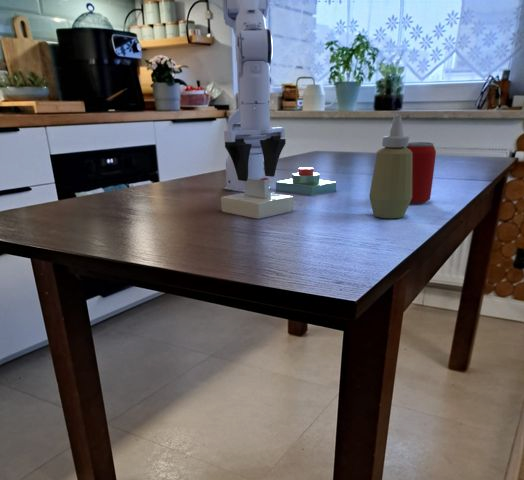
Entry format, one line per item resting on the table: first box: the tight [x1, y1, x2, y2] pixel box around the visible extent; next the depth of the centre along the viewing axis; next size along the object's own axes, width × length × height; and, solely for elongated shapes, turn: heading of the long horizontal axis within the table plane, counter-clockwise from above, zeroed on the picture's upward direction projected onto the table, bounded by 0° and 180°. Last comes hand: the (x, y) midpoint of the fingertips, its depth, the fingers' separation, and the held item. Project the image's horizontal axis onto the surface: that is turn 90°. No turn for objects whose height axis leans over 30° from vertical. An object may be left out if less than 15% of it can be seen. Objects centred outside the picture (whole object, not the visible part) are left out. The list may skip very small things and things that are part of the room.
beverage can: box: [405, 141, 437, 205], centre depth 111 cm, size 7×7×12 cm
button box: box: [275, 172, 337, 197], centre depth 128 cm, size 12×9×4 cm
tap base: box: [220, 192, 294, 220], centre depth 106 cm, size 11×10×3 cm
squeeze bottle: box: [368, 114, 413, 219], centre depth 97 cm, size 8×8×18 cm
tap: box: [243, 177, 271, 198], centre depth 105 cm, size 6×2×4 cm, turn 45°
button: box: [298, 166, 314, 175], centre depth 127 cm, size 4×4×2 cm
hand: (256, 178), depth 104 cm, fingers open, 7 cm apart
